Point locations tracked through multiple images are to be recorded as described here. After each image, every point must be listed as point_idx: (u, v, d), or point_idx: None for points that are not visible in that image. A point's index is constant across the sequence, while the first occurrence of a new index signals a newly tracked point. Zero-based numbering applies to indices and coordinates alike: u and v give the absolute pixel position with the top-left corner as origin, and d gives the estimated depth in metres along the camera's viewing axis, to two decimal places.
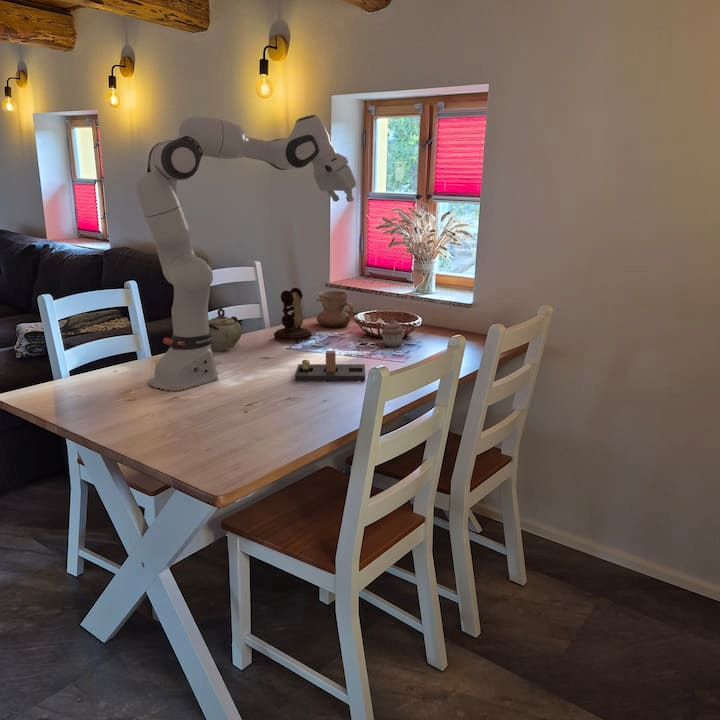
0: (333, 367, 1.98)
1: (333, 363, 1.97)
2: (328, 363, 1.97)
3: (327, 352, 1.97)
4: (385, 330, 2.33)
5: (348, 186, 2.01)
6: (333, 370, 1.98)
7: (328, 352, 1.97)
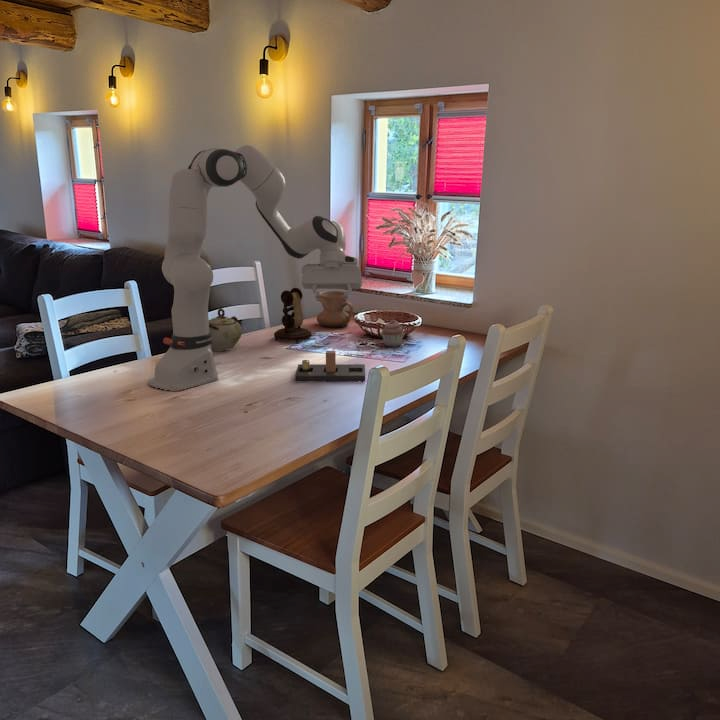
0: (333, 367, 1.98)
1: (333, 363, 1.97)
2: (328, 363, 1.97)
3: (327, 352, 1.97)
4: (385, 330, 2.33)
5: (361, 279, 2.07)
6: (333, 370, 1.98)
7: (328, 352, 1.97)
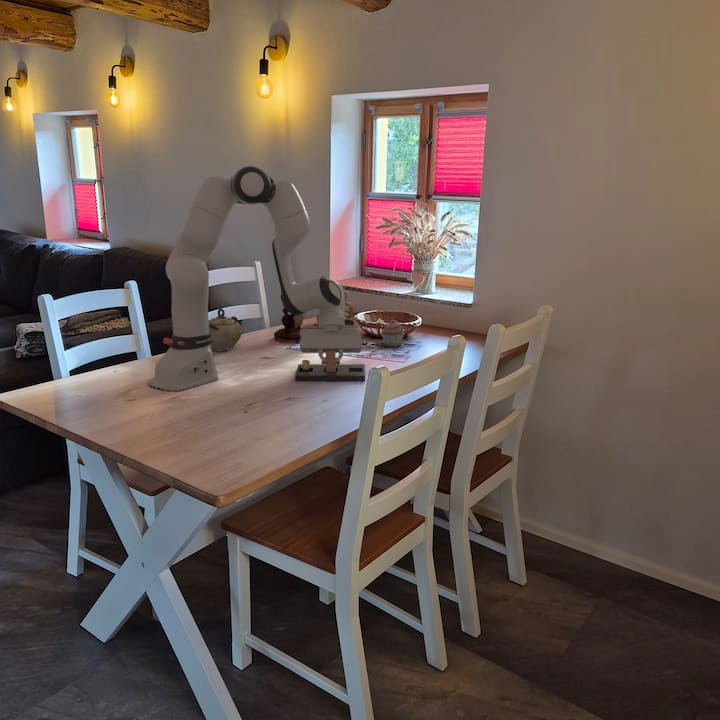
0: (333, 367, 1.98)
1: (333, 363, 1.97)
2: (328, 363, 1.97)
3: (327, 352, 1.97)
4: (385, 330, 2.33)
5: (361, 344, 2.00)
6: (333, 370, 1.98)
7: (328, 352, 1.97)
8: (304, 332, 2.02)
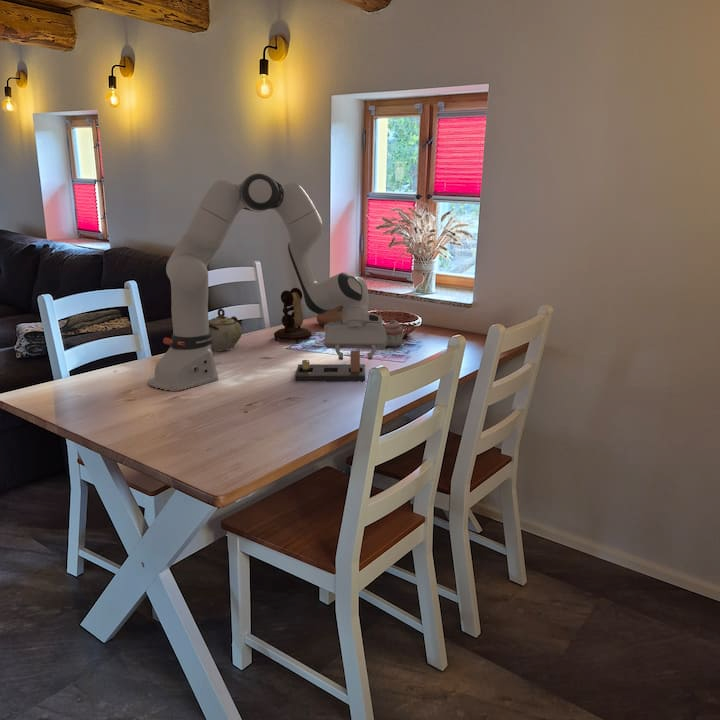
0: (358, 367, 1.98)
1: (358, 363, 1.97)
2: (352, 363, 1.97)
3: (352, 352, 1.98)
4: (385, 330, 2.33)
5: (386, 339, 2.00)
6: (358, 370, 1.98)
7: (353, 352, 1.98)
8: (328, 328, 2.01)
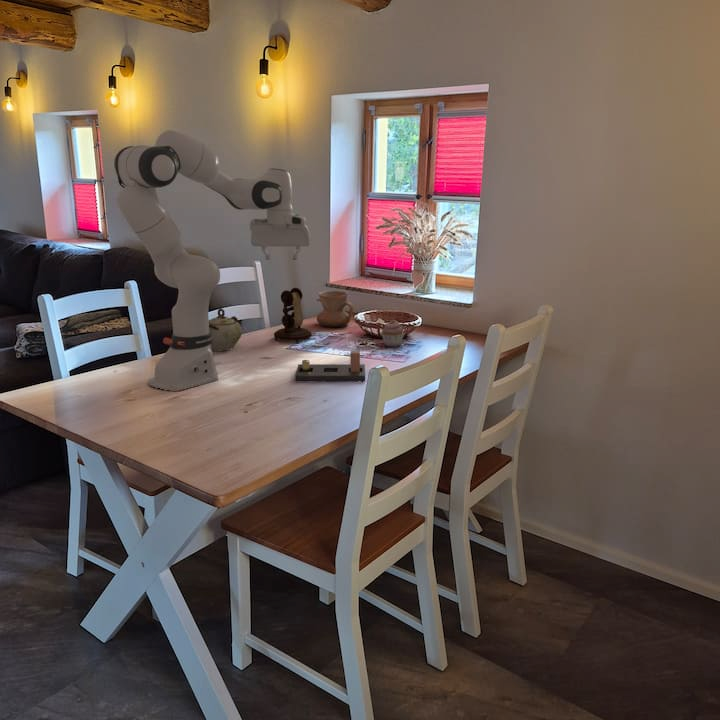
0: (358, 367, 1.98)
1: (358, 363, 1.97)
2: (352, 363, 1.97)
3: (352, 352, 1.98)
4: (385, 330, 2.33)
5: (309, 242, 2.11)
6: (358, 370, 1.98)
7: (353, 352, 1.98)
8: (254, 229, 2.10)
